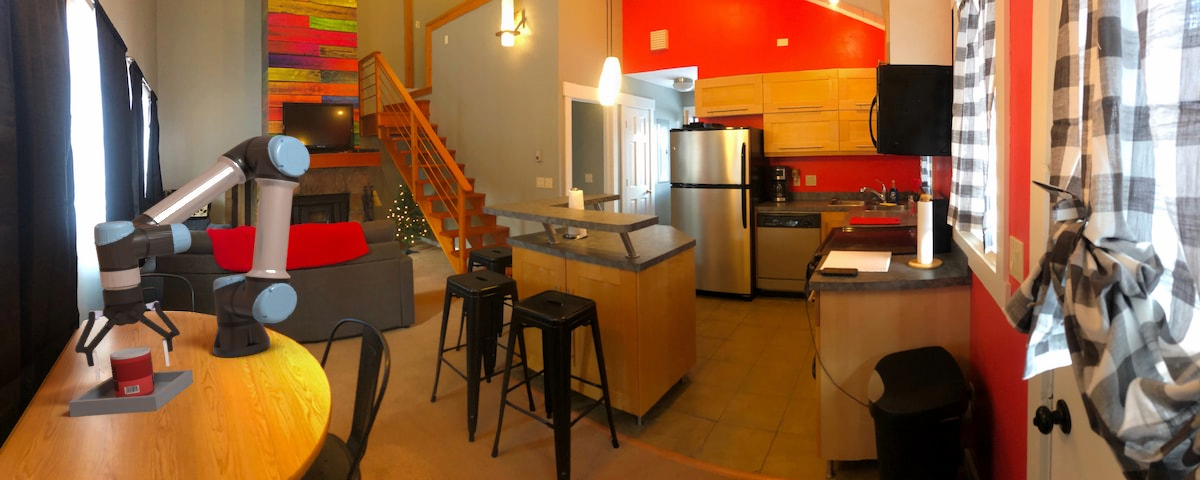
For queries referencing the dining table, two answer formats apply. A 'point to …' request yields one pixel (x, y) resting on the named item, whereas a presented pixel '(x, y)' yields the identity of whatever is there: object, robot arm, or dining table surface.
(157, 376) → the tray
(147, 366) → the canned food
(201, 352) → the dining table surface
